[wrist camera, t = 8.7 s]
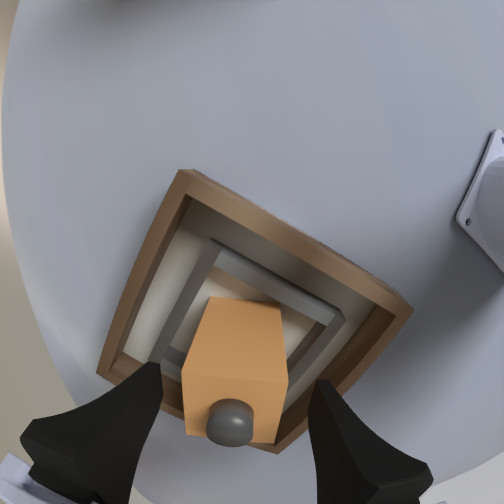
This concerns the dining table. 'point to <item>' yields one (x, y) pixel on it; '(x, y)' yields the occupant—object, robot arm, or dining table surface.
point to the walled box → (247, 297)
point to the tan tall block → (236, 373)
